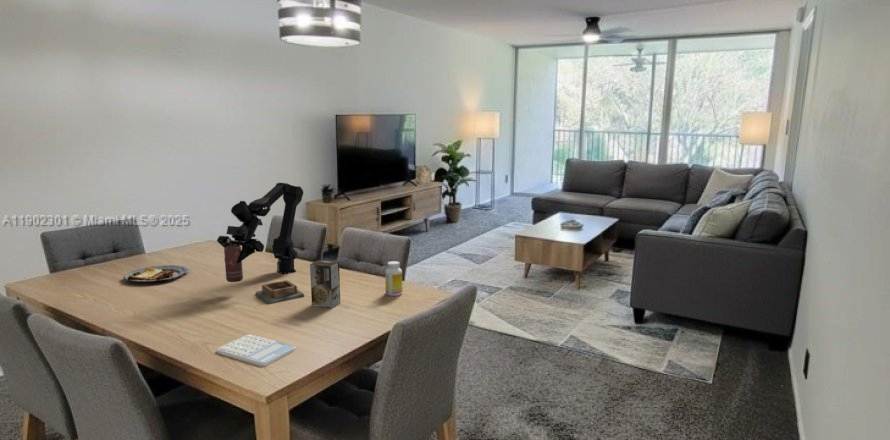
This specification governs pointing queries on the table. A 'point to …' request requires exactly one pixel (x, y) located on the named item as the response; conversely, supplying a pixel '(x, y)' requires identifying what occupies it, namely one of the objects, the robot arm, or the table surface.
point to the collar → (279, 292)
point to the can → (233, 263)
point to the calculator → (256, 350)
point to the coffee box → (325, 283)
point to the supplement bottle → (393, 279)
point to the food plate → (156, 273)
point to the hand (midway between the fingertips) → (231, 262)
